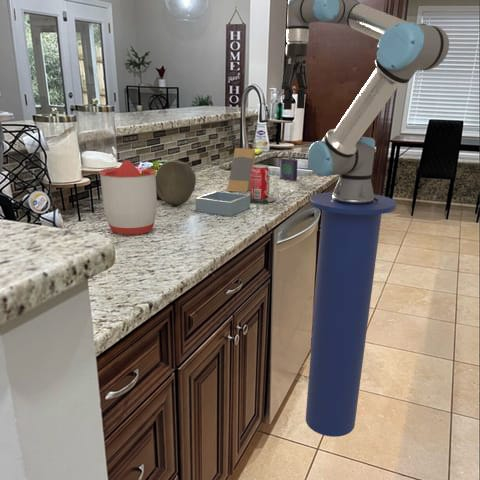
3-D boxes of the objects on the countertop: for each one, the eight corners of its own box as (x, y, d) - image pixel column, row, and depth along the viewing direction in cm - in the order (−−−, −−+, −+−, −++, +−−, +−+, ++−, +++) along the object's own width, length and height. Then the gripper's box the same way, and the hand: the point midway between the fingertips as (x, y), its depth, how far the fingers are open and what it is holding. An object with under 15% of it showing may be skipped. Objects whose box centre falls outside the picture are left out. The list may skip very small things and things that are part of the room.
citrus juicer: (169, 224, 153) (166, 156, 145) (146, 239, 137) (142, 165, 129) (121, 220, 156) (116, 154, 148) (94, 235, 140) (86, 162, 133)
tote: (249, 208, 174) (250, 195, 172) (230, 216, 163) (230, 202, 161) (216, 203, 180) (216, 190, 178) (195, 211, 169) (195, 197, 167)
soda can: (266, 196, 189) (267, 164, 184) (270, 200, 183) (272, 167, 178) (248, 197, 188) (248, 164, 183) (251, 201, 182) (252, 167, 177)
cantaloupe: (196, 209, 171) (195, 164, 165) (154, 209, 170) (151, 164, 164) (196, 200, 184) (195, 158, 178) (157, 200, 183) (155, 158, 177)
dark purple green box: (278, 178, 229) (279, 154, 224) (282, 177, 231) (283, 153, 226) (294, 181, 223) (296, 156, 219) (298, 180, 225) (300, 155, 221)
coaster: (279, 199, 188) (279, 198, 188) (266, 204, 179) (266, 203, 179) (253, 195, 192) (253, 194, 192) (239, 201, 184) (239, 200, 183)
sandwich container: (226, 191, 200) (226, 152, 194) (234, 184, 214) (234, 147, 208) (247, 192, 199) (247, 153, 193) (254, 185, 212) (255, 148, 206)
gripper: (299, 46, 186) (296, 107, 194) (273, 41, 165) (271, 109, 174) (318, 45, 183) (314, 108, 191) (295, 40, 162) (291, 110, 171)
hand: (294, 109), depth 183 cm, fingers open, 13 cm apart
